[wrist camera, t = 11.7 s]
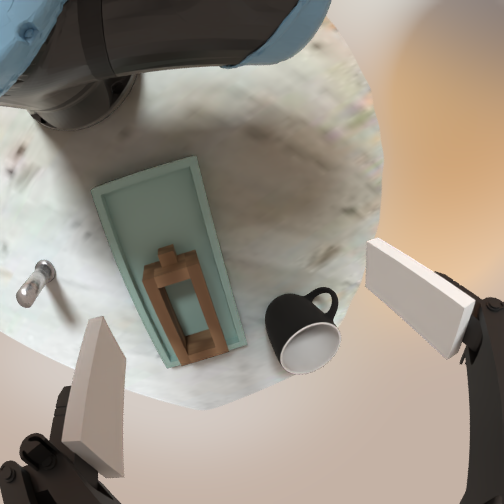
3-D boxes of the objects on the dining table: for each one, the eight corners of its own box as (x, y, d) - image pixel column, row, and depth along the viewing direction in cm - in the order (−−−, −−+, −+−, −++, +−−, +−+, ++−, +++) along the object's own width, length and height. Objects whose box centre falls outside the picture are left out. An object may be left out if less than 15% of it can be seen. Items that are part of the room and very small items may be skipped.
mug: (284, 341, 48) (309, 381, 39) (245, 319, 44) (266, 362, 35) (332, 288, 47) (367, 321, 38) (297, 259, 43) (331, 292, 34)
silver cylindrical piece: (32, 263, 32) (9, 290, 25) (49, 256, 33) (27, 283, 26) (41, 283, 34) (21, 313, 26) (58, 277, 34) (39, 307, 27)
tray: (94, 187, 32) (90, 190, 30) (194, 155, 34) (196, 155, 32) (166, 359, 43) (166, 368, 41) (243, 336, 46) (247, 344, 44)
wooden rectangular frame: (179, 346, 42) (181, 365, 38) (140, 254, 36) (137, 269, 32) (223, 332, 43) (229, 351, 39) (191, 238, 37) (195, 250, 33)
